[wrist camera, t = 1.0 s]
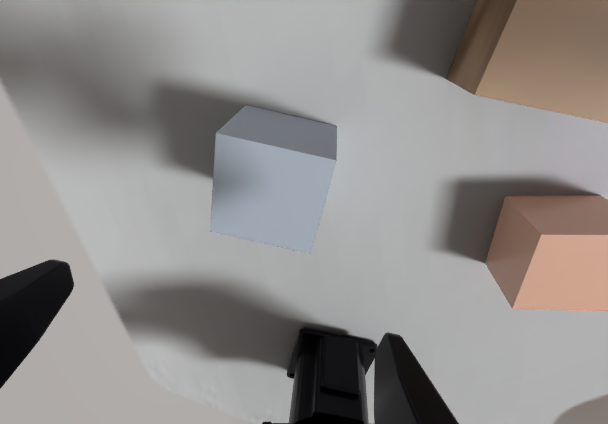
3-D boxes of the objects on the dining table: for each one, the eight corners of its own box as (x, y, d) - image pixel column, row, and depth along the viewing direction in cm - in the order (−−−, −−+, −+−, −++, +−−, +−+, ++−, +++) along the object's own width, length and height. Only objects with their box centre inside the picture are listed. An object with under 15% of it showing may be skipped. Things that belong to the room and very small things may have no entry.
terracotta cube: (566, 262, 20) (611, 311, 17) (484, 261, 21) (512, 308, 18) (598, 194, 18) (659, 235, 15) (504, 194, 18) (541, 234, 15)
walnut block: (562, 103, 16) (624, 126, 12) (444, 78, 16) (474, 94, 12) (654, -51, 13) (771, -77, 9) (507, -83, 13) (571, -121, 9)
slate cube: (316, 203, 20) (310, 253, 16) (237, 185, 20) (210, 231, 15) (336, 125, 17) (336, 160, 13) (246, 104, 17) (215, 132, 13)
